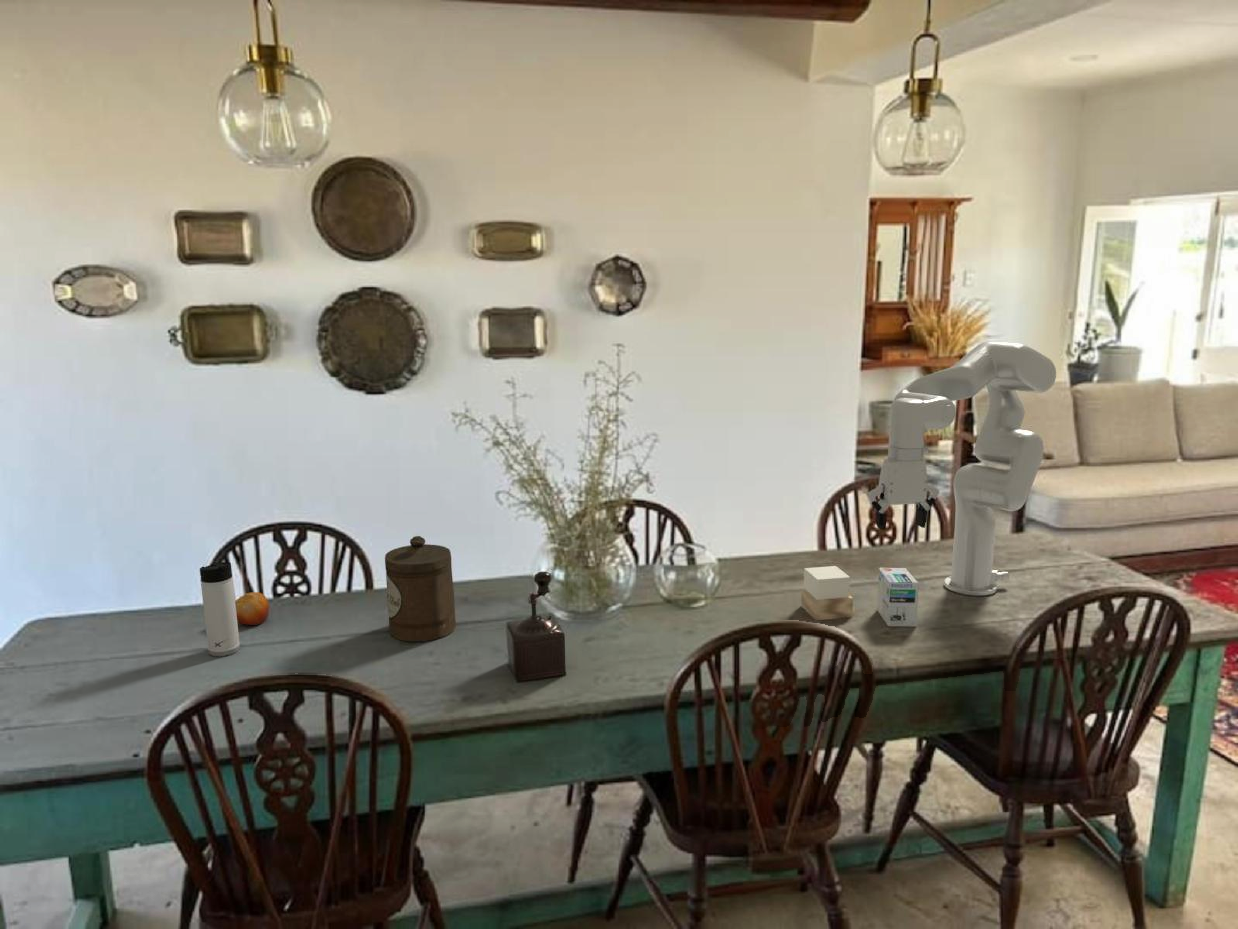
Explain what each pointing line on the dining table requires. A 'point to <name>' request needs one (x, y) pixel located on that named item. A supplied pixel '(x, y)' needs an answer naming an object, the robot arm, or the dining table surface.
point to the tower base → (826, 606)
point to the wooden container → (420, 591)
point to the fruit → (252, 608)
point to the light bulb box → (897, 597)
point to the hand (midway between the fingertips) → (900, 527)
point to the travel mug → (219, 609)
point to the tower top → (826, 582)
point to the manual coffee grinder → (536, 641)
